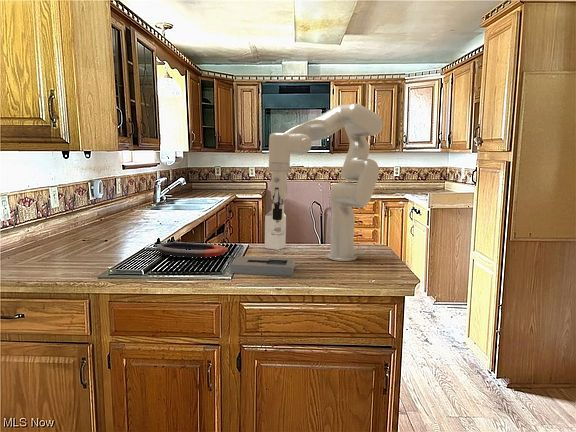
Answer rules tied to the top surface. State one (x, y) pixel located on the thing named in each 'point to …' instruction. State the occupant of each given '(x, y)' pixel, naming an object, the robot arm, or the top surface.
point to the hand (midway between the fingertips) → (278, 218)
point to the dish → (198, 250)
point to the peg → (278, 223)
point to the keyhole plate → (263, 266)
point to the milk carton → (274, 240)
